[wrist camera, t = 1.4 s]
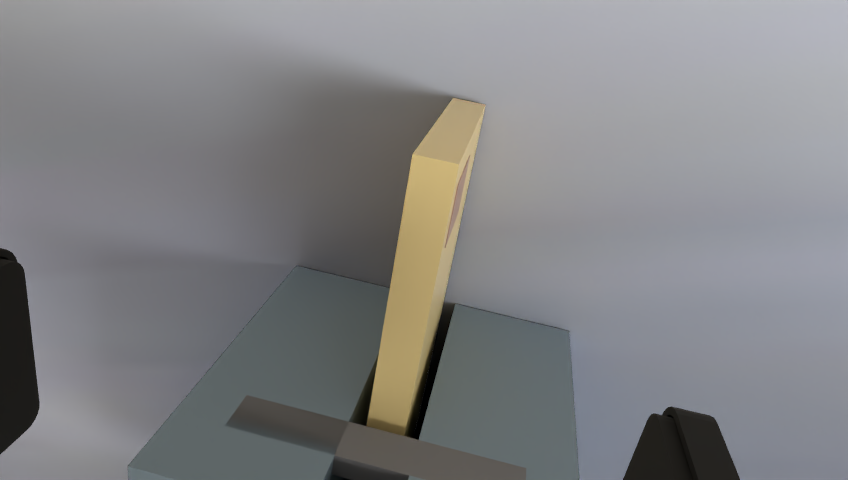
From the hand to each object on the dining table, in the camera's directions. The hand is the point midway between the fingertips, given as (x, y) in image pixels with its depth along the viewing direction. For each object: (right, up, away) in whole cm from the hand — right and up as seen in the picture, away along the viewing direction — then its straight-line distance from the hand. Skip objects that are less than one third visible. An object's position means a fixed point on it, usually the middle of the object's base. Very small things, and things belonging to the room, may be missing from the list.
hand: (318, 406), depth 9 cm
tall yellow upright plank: (+2, +1, +12) cm, 12 cm away
